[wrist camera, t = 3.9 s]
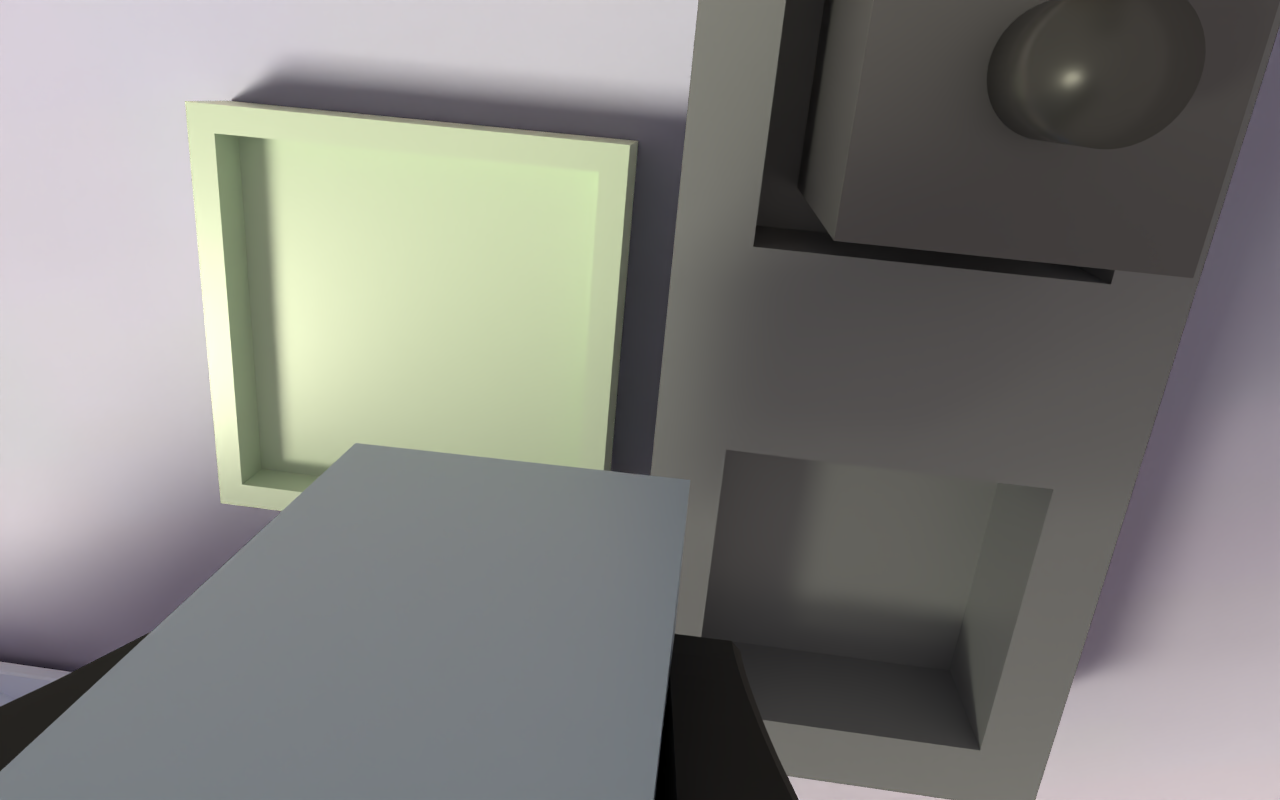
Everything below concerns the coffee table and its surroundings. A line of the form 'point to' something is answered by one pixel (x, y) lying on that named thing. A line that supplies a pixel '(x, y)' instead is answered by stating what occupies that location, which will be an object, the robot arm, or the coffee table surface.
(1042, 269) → the power strip
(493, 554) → the plug
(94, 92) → the coffee table surface
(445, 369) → the tray
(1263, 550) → the coffee table surface
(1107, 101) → the twin plug
